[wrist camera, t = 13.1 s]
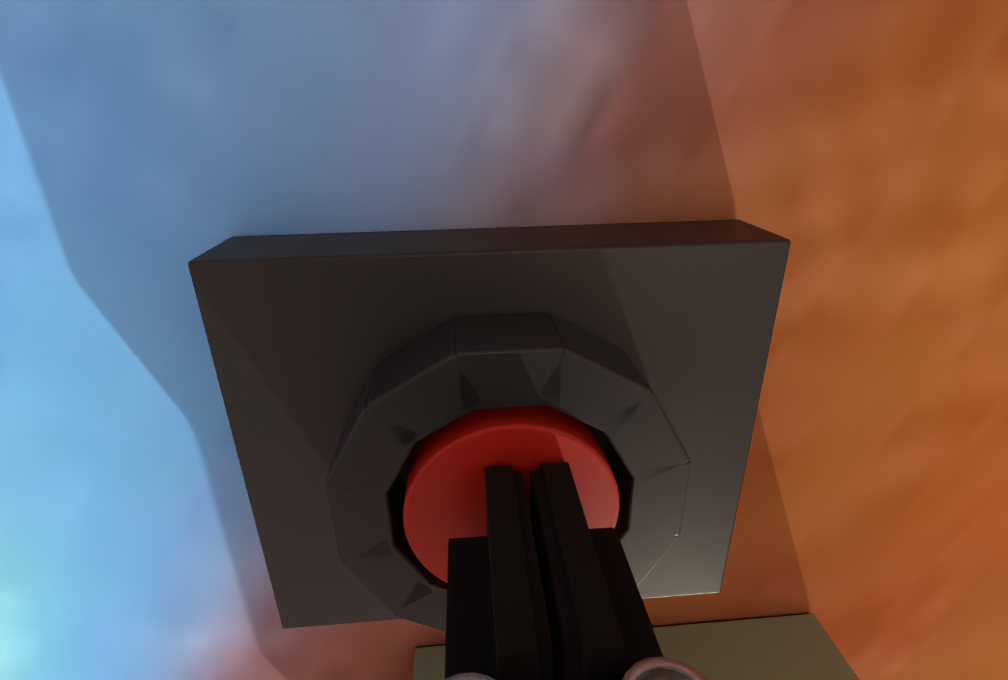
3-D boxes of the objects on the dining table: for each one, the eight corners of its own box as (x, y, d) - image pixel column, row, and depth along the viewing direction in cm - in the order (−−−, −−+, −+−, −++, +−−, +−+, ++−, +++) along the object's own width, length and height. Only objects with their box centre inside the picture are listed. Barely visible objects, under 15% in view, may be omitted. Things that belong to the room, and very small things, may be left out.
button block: (303, 564, 16) (259, 698, 12) (230, 236, 12) (132, 291, 8) (689, 536, 17) (754, 653, 13) (740, 219, 13) (852, 263, 9)
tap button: (417, 545, 13) (412, 606, 11) (400, 386, 11) (391, 432, 10) (594, 531, 13) (613, 589, 12) (604, 375, 12) (628, 418, 10)
